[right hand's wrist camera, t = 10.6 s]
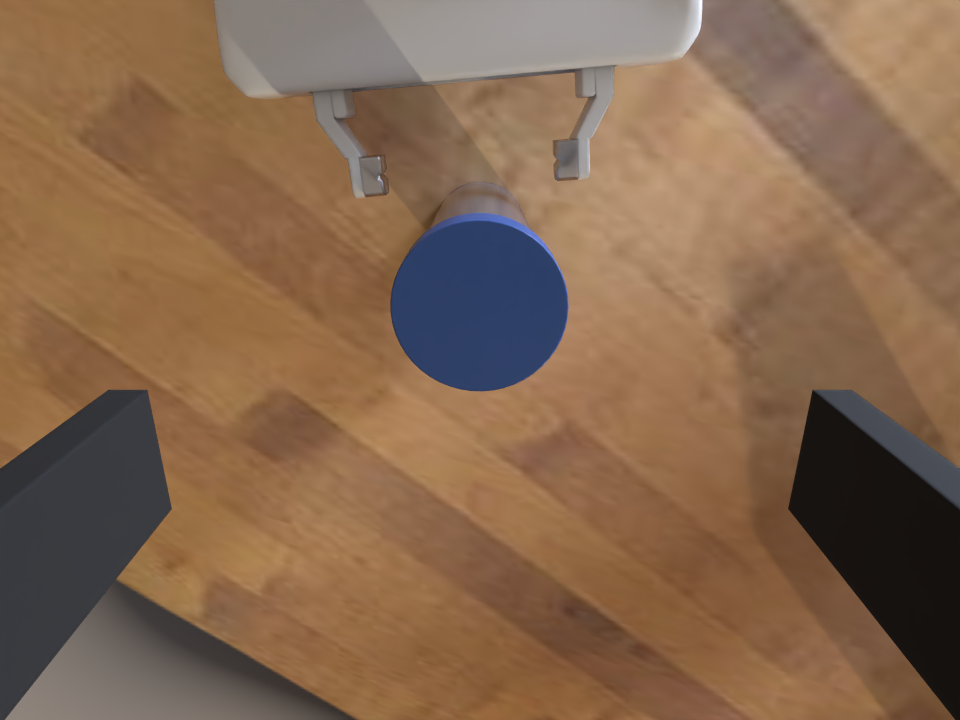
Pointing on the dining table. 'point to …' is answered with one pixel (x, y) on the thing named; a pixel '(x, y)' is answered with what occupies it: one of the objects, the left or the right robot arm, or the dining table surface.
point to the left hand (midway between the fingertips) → (471, 187)
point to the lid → (479, 302)
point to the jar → (480, 203)
